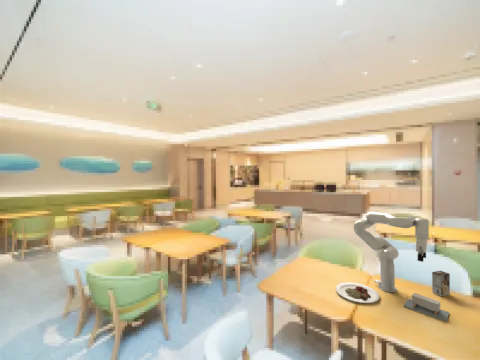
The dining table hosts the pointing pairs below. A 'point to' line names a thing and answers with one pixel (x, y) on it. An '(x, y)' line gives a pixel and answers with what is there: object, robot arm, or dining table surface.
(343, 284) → the plated food
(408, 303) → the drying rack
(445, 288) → the coffee box
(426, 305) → the light grey block
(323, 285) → the dining table surface
